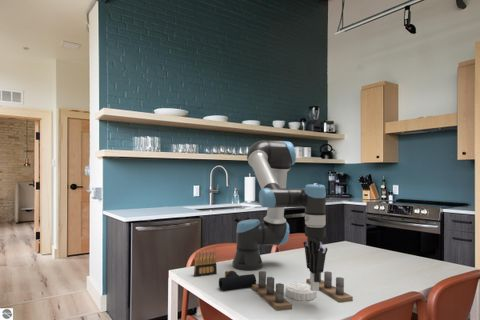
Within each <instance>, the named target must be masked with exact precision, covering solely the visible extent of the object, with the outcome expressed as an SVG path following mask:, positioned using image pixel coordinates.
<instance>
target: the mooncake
mask: <svg viewBox="0 0 480 320" xmlns="http://www.w3.org/2000/svg"><path fill="white" fill-rule="evenodd" d="M310 286H311V285H310V284H308V283H305V282H294V283H293V282H292V283H290V284H288V285H287V286H286V287H285V295H286V297H288V298H289V299H292V300H296V301H301V302H304V301H306V302H307V301H313V300H316V298H317V293H318V292H317V291H311V290H310Z"/></svg>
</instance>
